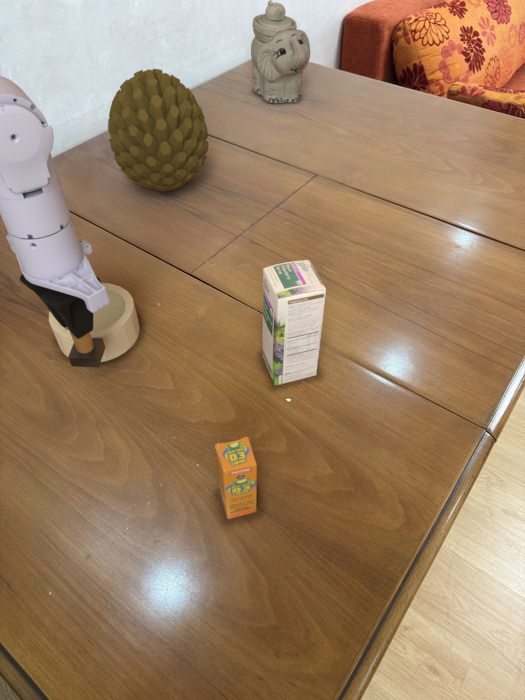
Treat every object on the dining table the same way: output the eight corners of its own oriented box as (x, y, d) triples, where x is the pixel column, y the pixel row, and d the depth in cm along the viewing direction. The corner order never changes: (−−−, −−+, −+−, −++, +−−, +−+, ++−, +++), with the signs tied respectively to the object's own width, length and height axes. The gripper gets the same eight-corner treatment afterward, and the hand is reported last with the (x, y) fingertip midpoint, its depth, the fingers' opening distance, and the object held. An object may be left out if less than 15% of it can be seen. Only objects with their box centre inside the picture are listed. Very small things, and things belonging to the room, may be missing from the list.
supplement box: (227, 523, 54) (220, 472, 47) (219, 493, 56) (212, 440, 49) (258, 514, 55) (257, 463, 47) (250, 485, 57) (247, 432, 50)
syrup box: (261, 354, 70) (259, 266, 59) (303, 344, 71) (309, 256, 61) (274, 387, 66) (275, 299, 56) (319, 376, 67) (328, 287, 57)
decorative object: (215, 163, 105) (207, 53, 90) (207, 211, 93) (195, 92, 79) (130, 163, 105) (108, 52, 91) (111, 210, 94) (82, 92, 79)
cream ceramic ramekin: (41, 349, 71) (30, 325, 68) (89, 299, 78) (82, 275, 74) (110, 373, 68) (102, 348, 65) (154, 318, 75) (149, 294, 72)
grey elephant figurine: (302, 115, 120) (306, 20, 106) (238, 108, 123) (234, 14, 109) (317, 87, 131) (323, -3, 117) (258, 81, 134) (257, -7, 120)
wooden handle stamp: (71, 366, 62) (48, 308, 55) (79, 346, 64) (57, 288, 57) (99, 367, 61) (78, 309, 55) (105, 347, 64) (87, 289, 57)
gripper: (122, 233, 48) (147, 339, 58) (35, 178, 54) (70, 282, 64) (53, 270, 44) (93, 376, 54) (-31, 206, 51) (17, 311, 61)
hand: (77, 327), depth 59 cm, fingers closed on wooden handle stamp, 2 cm apart
